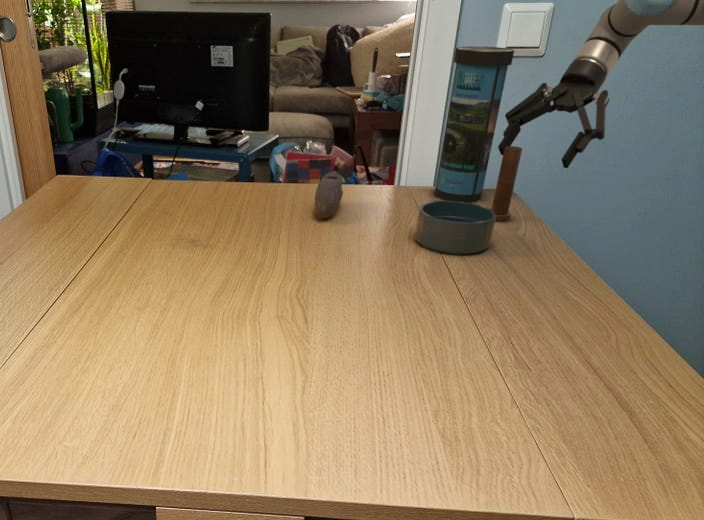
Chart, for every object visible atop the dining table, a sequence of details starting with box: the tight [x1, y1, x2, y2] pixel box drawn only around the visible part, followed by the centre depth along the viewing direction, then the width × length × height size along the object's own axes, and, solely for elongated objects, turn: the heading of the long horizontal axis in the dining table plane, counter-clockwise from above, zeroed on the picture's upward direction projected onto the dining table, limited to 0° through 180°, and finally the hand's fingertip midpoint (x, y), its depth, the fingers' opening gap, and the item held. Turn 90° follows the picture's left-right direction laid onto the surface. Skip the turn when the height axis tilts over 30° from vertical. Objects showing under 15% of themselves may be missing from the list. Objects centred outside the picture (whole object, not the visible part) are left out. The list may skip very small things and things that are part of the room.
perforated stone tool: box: [314, 171, 344, 219], centre depth 136 cm, size 15×5×7 cm, turn 162°
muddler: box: [491, 145, 523, 223], centre depth 132 cm, size 4×4×14 cm
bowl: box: [414, 200, 496, 256], centre depth 121 cm, size 13×13×6 cm
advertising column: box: [434, 46, 515, 203], centre depth 141 cm, size 11×11×30 cm
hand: (531, 157), depth 133 cm, fingers open, 13 cm apart
